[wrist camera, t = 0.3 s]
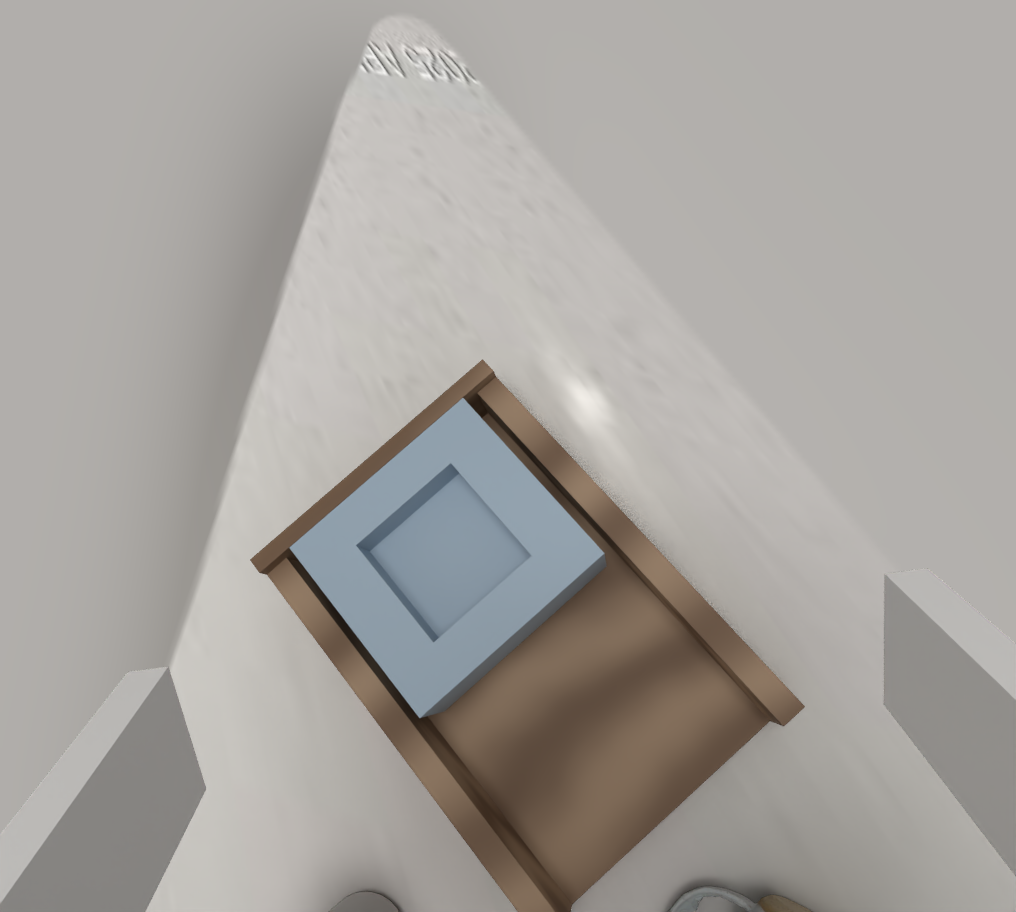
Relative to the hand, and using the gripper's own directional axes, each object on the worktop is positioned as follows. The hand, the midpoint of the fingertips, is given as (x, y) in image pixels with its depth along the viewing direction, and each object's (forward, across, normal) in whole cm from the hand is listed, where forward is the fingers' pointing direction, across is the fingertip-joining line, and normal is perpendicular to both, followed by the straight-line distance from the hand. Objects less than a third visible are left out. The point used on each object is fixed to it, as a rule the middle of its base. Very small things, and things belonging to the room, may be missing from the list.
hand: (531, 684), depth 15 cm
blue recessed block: (+32, +5, +12) cm, 35 cm away
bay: (+31, +2, +17) cm, 35 cm away
